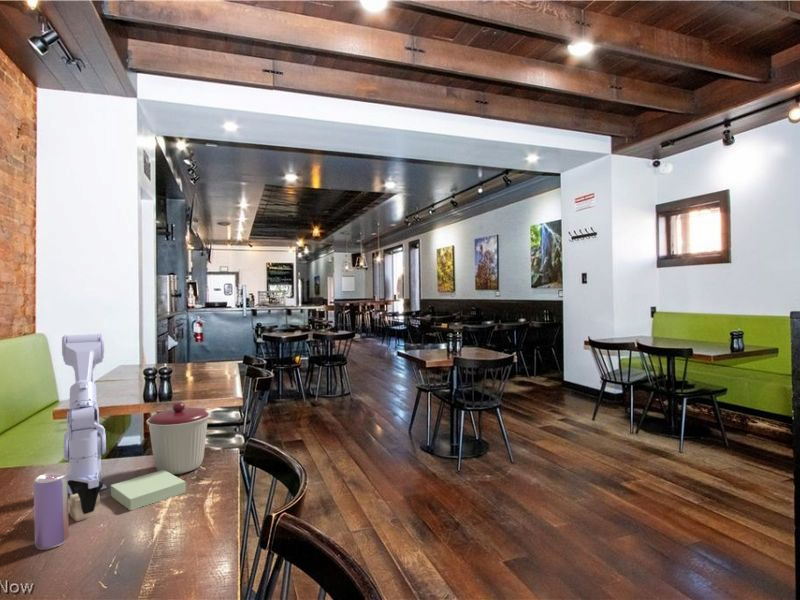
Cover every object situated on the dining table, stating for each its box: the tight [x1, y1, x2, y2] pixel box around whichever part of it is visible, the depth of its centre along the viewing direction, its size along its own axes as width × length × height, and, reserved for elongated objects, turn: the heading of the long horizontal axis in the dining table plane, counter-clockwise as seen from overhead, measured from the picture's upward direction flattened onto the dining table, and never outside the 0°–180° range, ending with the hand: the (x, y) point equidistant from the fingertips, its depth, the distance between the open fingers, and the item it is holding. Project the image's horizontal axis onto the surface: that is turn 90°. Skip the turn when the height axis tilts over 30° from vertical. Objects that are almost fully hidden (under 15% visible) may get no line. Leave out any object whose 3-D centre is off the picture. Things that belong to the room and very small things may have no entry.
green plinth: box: [110, 470, 187, 511], centre depth 126 cm, size 14×14×3 cm
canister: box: [145, 401, 211, 476], centre depth 144 cm, size 18×18×21 cm
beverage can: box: [33, 471, 70, 551], centre depth 101 cm, size 6×6×15 cm
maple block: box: [69, 493, 101, 522], centre depth 114 cm, size 5×5×5 cm
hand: (84, 509), depth 114 cm, fingers closed on maple block, 5 cm apart
